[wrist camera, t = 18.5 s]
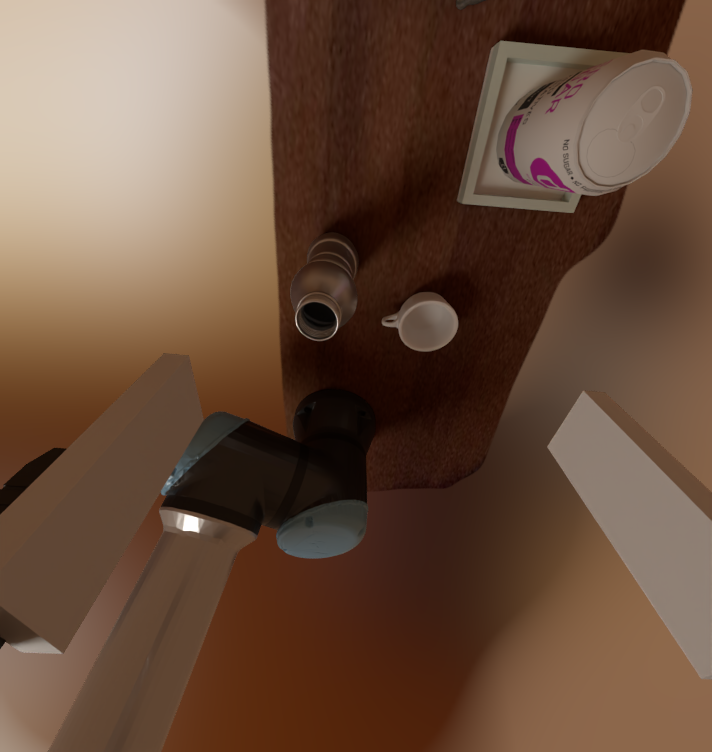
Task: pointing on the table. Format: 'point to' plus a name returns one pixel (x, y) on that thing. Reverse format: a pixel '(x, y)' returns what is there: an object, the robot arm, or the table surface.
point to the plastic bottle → (325, 287)
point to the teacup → (425, 322)
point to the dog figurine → (466, 3)
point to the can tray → (499, 94)
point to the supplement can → (597, 125)
